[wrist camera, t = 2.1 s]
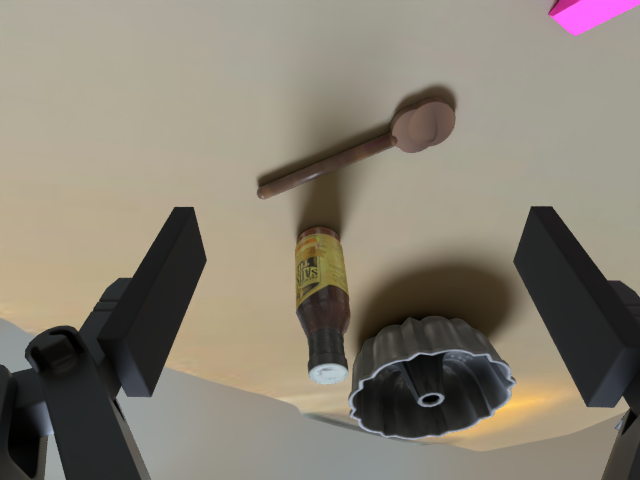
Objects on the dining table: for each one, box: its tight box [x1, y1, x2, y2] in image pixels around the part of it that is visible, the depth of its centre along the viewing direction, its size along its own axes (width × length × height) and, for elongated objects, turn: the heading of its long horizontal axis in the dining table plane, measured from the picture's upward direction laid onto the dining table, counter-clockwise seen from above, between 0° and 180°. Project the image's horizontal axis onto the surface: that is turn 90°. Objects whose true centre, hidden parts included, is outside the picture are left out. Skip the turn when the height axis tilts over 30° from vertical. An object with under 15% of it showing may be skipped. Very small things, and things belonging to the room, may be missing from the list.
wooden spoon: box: [257, 97, 455, 199], centre depth 47 cm, size 24×5×2 cm, turn 113°
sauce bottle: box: [295, 227, 350, 384], centre depth 49 cm, size 7×6×20 cm
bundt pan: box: [348, 316, 516, 439], centre depth 70 cm, size 26×26×10 cm
